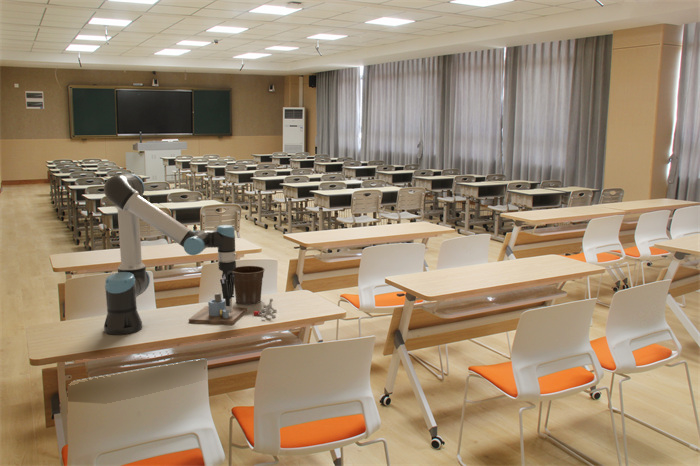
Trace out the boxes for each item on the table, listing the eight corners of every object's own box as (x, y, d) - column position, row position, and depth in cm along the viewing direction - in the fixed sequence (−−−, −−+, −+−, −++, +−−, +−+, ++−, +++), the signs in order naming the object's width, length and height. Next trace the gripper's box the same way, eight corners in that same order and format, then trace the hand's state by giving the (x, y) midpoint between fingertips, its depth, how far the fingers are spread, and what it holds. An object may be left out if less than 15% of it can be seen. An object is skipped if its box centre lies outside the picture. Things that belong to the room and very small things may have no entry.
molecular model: (255, 328, 264) (276, 320, 264) (249, 313, 262) (270, 305, 262) (257, 316, 278) (277, 308, 278) (251, 301, 276) (272, 294, 276)
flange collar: (206, 313, 267) (206, 300, 266) (220, 310, 271) (219, 297, 270) (220, 319, 258) (219, 306, 257) (233, 316, 263) (233, 303, 262)
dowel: (219, 317, 261) (219, 310, 260) (220, 316, 262) (220, 309, 261) (222, 317, 261) (221, 310, 260) (222, 317, 262) (222, 309, 261)
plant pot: (266, 296, 300) (265, 265, 298) (264, 305, 285) (263, 272, 282) (234, 296, 299) (233, 265, 297) (230, 306, 284) (228, 273, 281)
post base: (188, 322, 259) (187, 299, 257) (205, 309, 279) (204, 287, 277) (232, 324, 256) (231, 301, 255) (246, 310, 276) (246, 289, 274)
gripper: (230, 264, 252) (232, 317, 256) (240, 257, 265) (241, 308, 269) (213, 263, 253) (215, 316, 257) (223, 257, 266) (226, 307, 270)
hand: (229, 312), depth 263 cm, fingers closed
